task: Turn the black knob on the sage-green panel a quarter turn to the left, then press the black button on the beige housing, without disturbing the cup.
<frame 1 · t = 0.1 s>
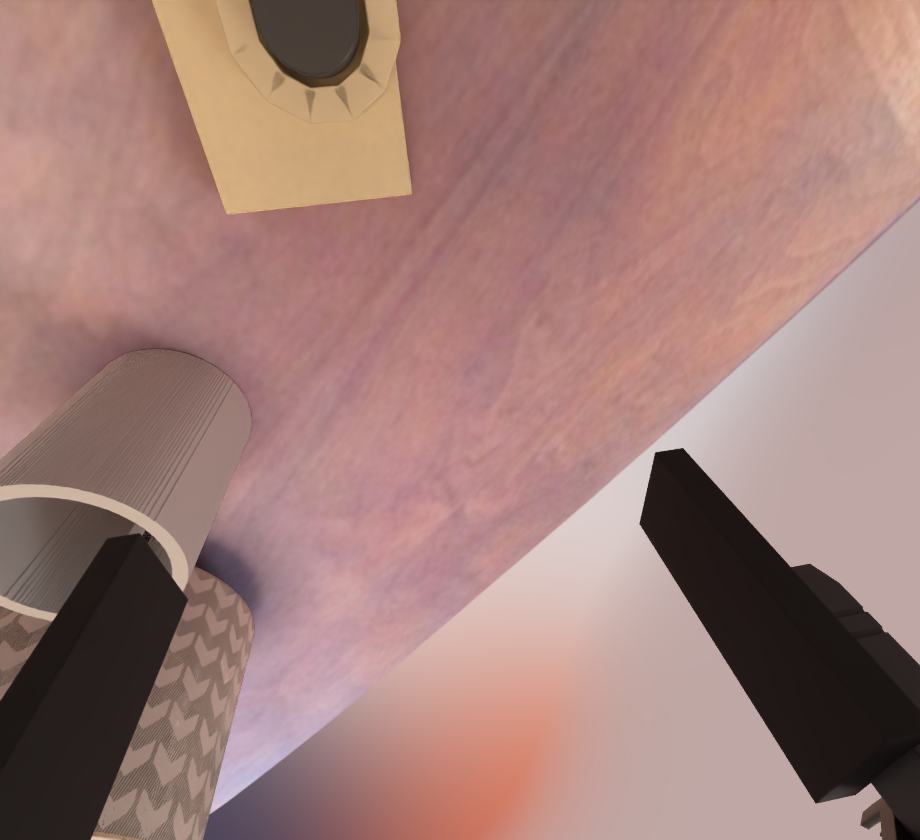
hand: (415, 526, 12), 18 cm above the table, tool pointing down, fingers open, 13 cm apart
button: (308, 14, 16), point 4 cm above the table, slide at 0.1 cm
button box: (298, 79, 21), on the table
cup: (178, 411, 29), on the table
planter: (144, 591, 38), on the table
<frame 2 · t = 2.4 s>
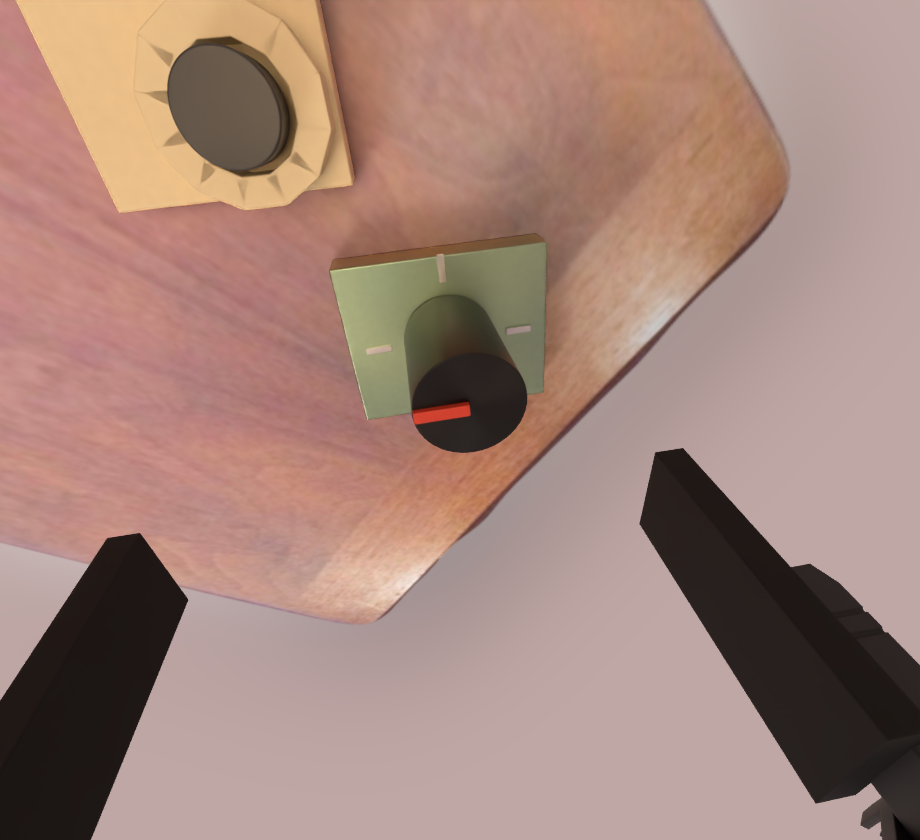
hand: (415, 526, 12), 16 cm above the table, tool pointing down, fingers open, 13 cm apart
knob: (458, 369, 22), point 6 cm above the table, hinge at 0.0°
dial panel: (444, 325, 26), on the table
button: (232, 111, 16), point 4 cm above the table, slide at 0.1 cm
button box: (211, 72, 19), on the table
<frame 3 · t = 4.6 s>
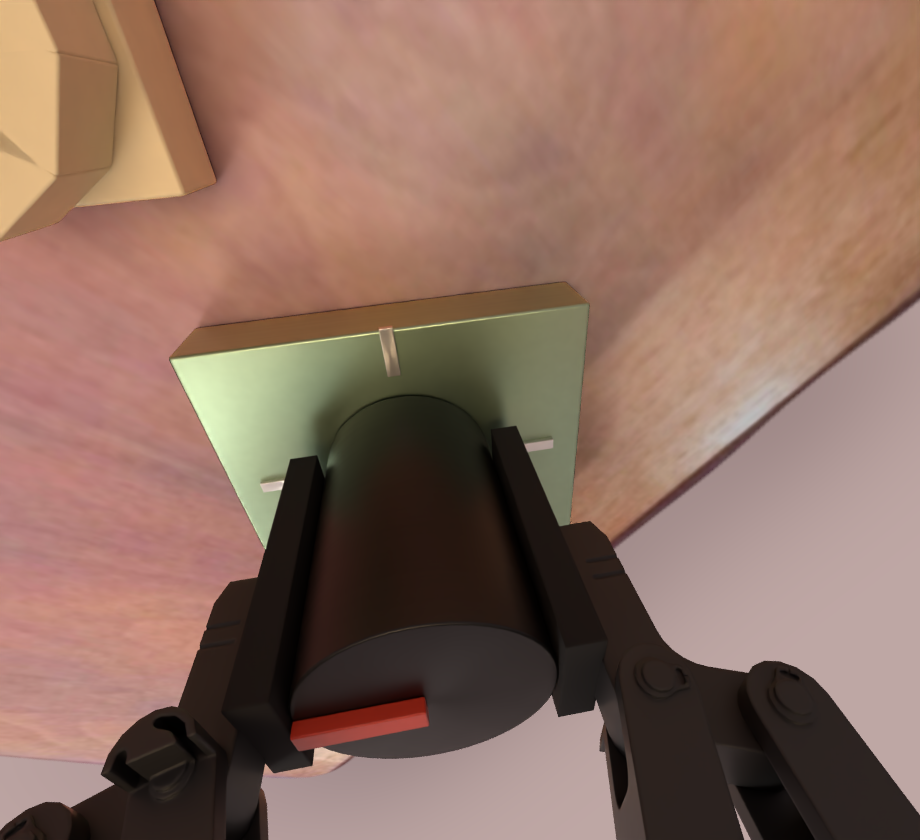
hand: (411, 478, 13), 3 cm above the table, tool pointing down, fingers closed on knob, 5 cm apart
knob: (418, 556, 11), point 6 cm above the table, hinge at 0.0°, touching gripper
dial panel: (407, 426, 16), on the table
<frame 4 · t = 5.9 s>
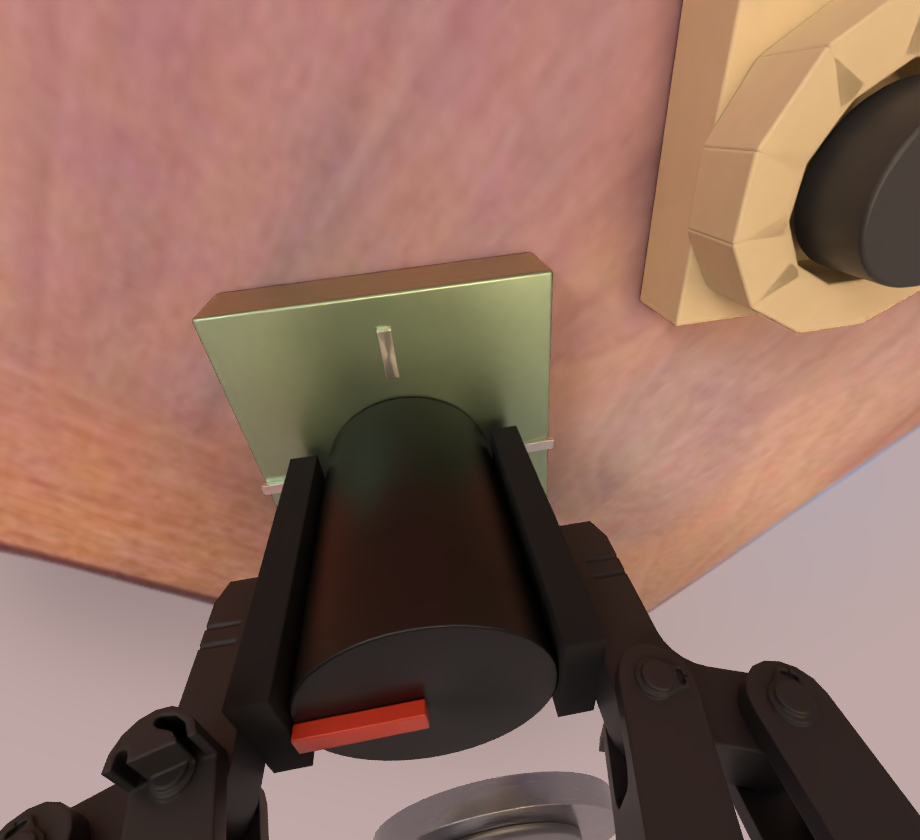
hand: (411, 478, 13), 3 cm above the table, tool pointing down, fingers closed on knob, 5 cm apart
knob: (418, 558, 11), point 6 cm above the table, hinge at 89.9°, touching gripper
dial panel: (408, 428, 16), on the table
button: (915, 185, 9), point 4 cm above the table, slide at 0.1 cm
button box: (828, 93, 12), on the table
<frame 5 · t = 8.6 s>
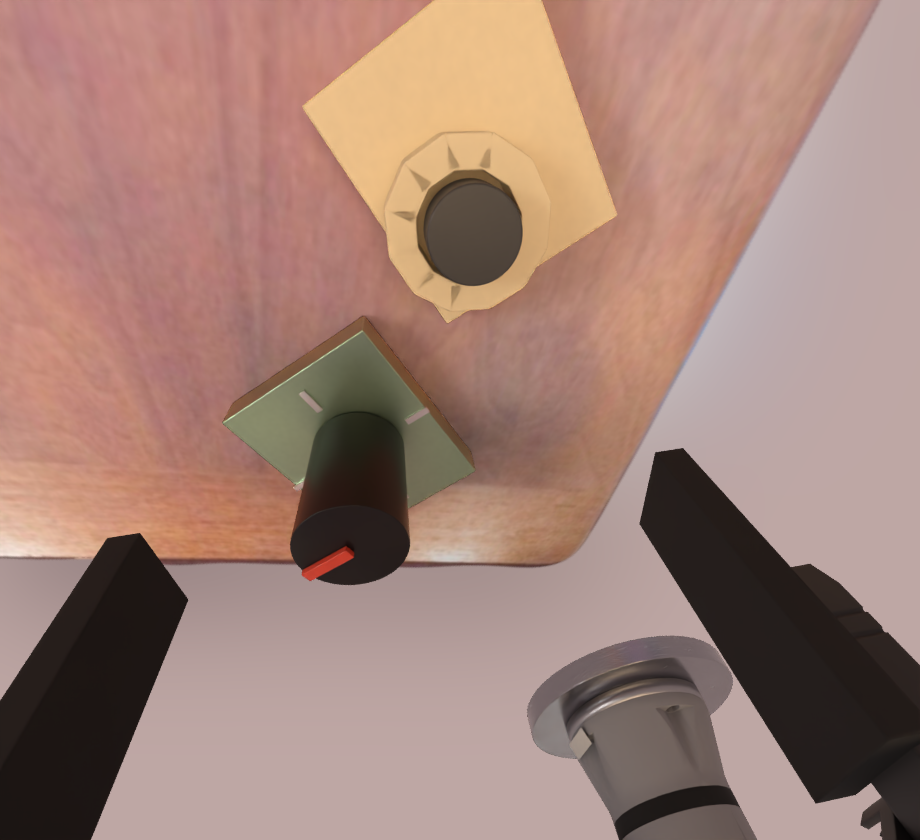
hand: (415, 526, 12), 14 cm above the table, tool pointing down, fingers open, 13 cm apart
knob: (355, 494, 22), point 6 cm above the table, hinge at 89.8°
dial panel: (361, 429, 27), on the table
button: (471, 233, 17), point 4 cm above the table, slide at 0.1 cm
button box: (467, 162, 20), on the table
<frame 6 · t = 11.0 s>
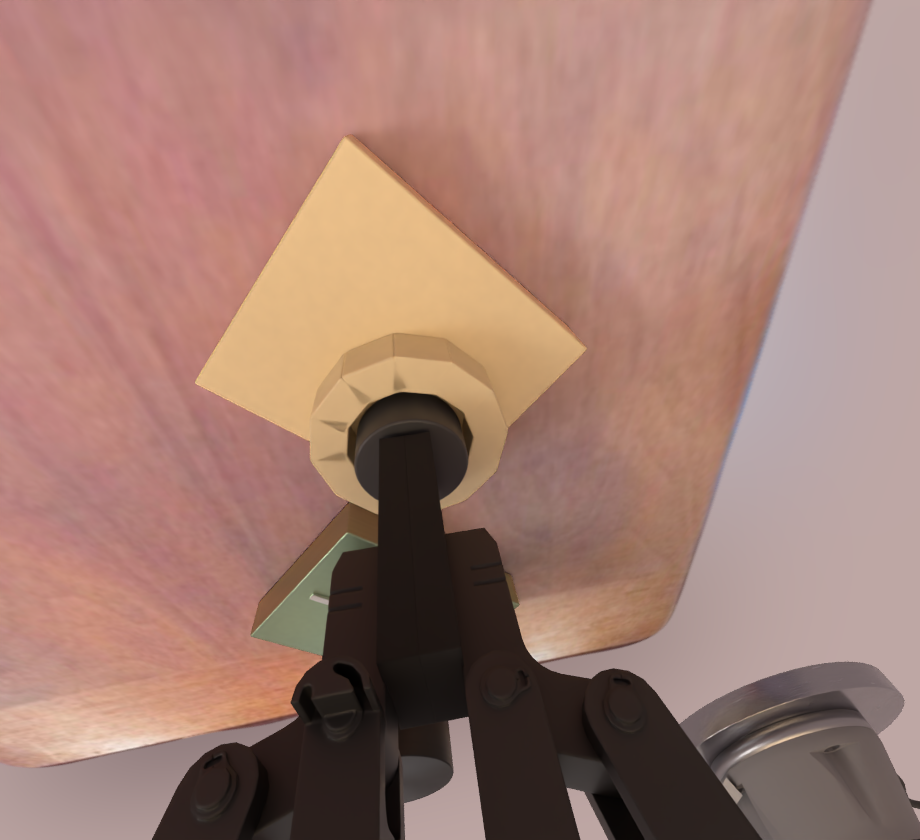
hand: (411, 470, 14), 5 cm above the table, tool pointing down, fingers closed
knob: (390, 694, 21), point 6 cm above the table, hinge at 89.8°
dial panel: (389, 588, 25), on the table
button: (411, 450, 15), point 4 cm above the table, slide at -0.2 cm, touching gripper
button box: (398, 339, 17), on the table
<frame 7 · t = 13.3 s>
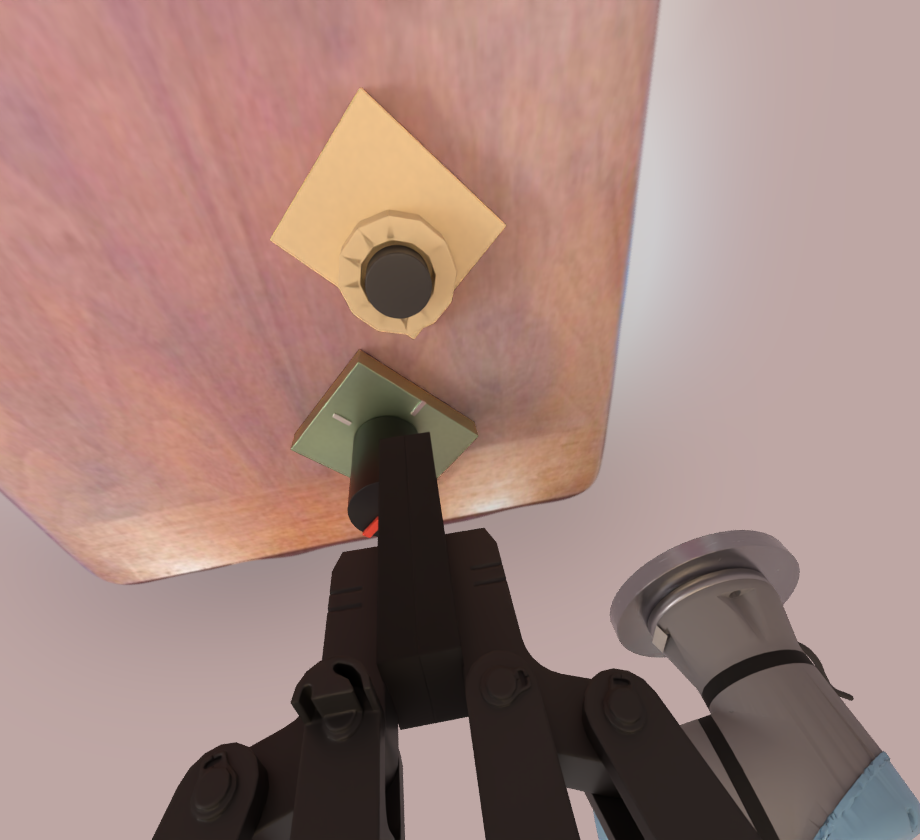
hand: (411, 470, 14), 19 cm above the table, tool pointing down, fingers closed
knob: (387, 475, 31), point 6 cm above the table, hinge at 89.8°
dial panel: (386, 427, 35), on the table
button: (398, 282, 25), point 4 cm above the table, slide at 0.1 cm
button box: (390, 224, 27), on the table
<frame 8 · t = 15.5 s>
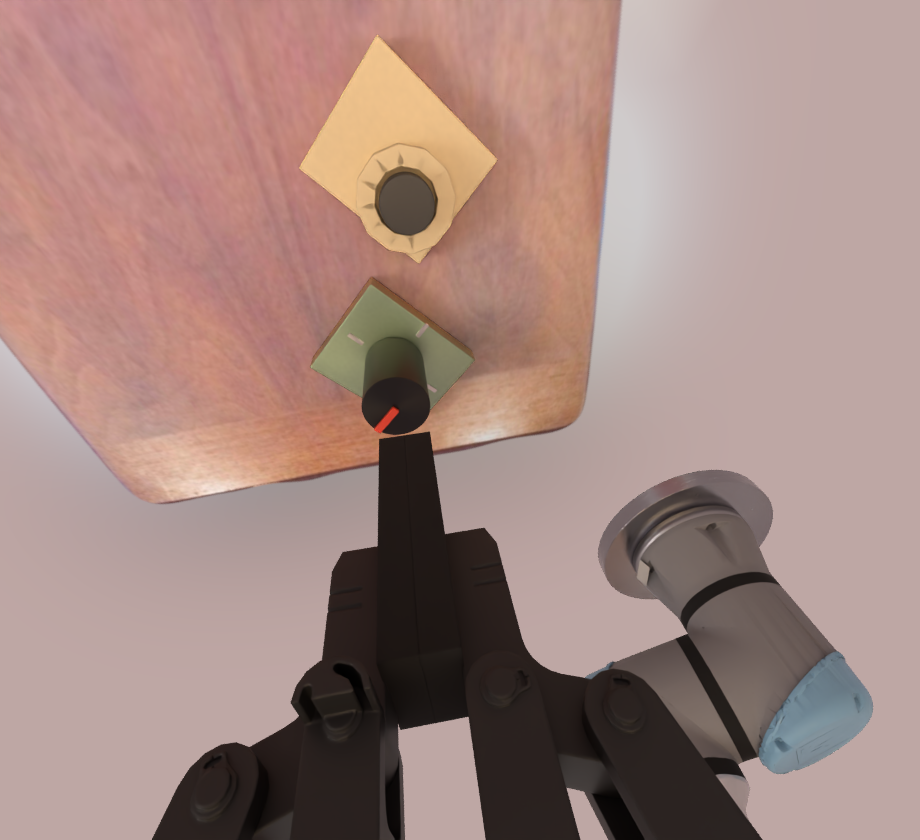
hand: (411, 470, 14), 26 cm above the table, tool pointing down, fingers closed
knob: (395, 384, 35), point 6 cm above the table, hinge at 89.8°
dial panel: (394, 353, 40), on the table
button: (406, 203, 29), point 4 cm above the table, slide at 0.1 cm
button box: (399, 161, 32), on the table
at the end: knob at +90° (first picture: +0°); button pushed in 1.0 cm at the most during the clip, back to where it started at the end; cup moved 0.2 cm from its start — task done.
